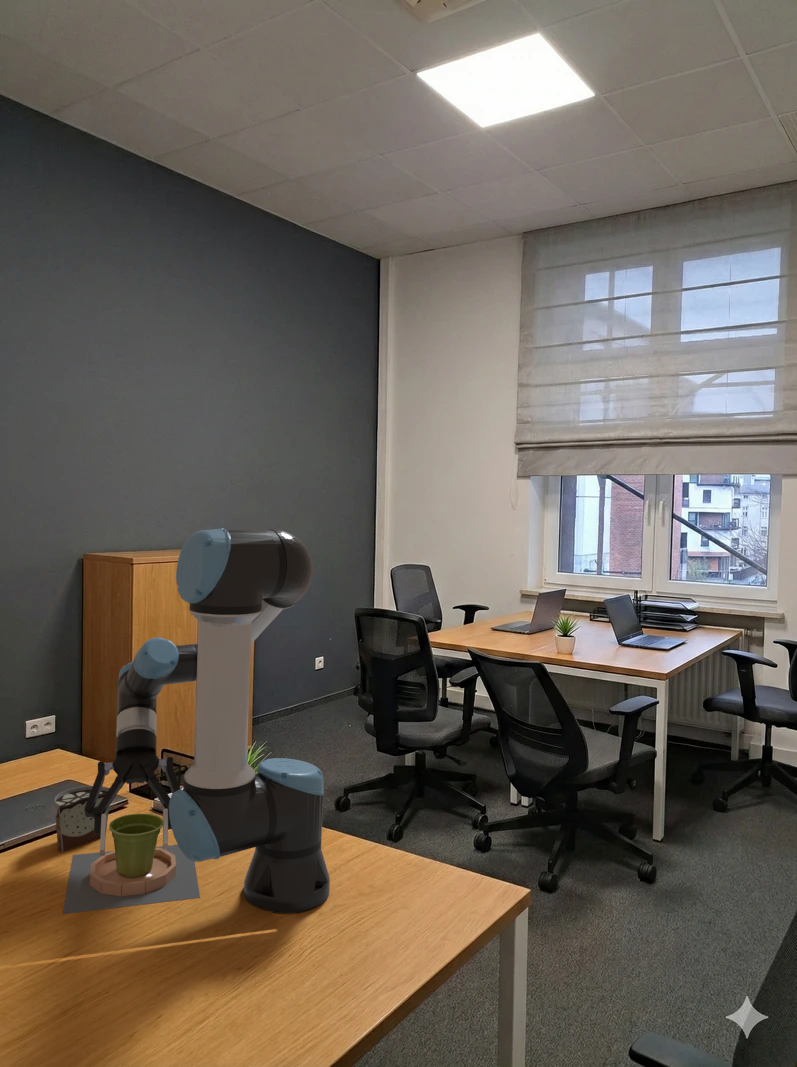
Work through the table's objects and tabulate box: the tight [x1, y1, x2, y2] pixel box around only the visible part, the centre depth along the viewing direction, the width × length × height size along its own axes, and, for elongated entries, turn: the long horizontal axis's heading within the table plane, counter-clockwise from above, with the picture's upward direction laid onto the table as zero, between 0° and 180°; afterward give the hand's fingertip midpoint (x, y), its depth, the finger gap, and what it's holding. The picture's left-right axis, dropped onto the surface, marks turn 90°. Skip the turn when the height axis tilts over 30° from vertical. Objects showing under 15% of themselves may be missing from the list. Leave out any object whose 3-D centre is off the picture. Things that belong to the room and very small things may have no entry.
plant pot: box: [108, 813, 163, 877], centre depth 143 cm, size 9×9×9 cm
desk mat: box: [62, 844, 201, 915], centre depth 143 cm, size 22×22×1 cm
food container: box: [51, 785, 110, 853], centre depth 157 cm, size 12×6×10 cm, turn 144°
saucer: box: [90, 848, 176, 896], centre depth 143 cm, size 15×15×2 cm
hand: (134, 849), depth 140 cm, fingers open, 10 cm apart
